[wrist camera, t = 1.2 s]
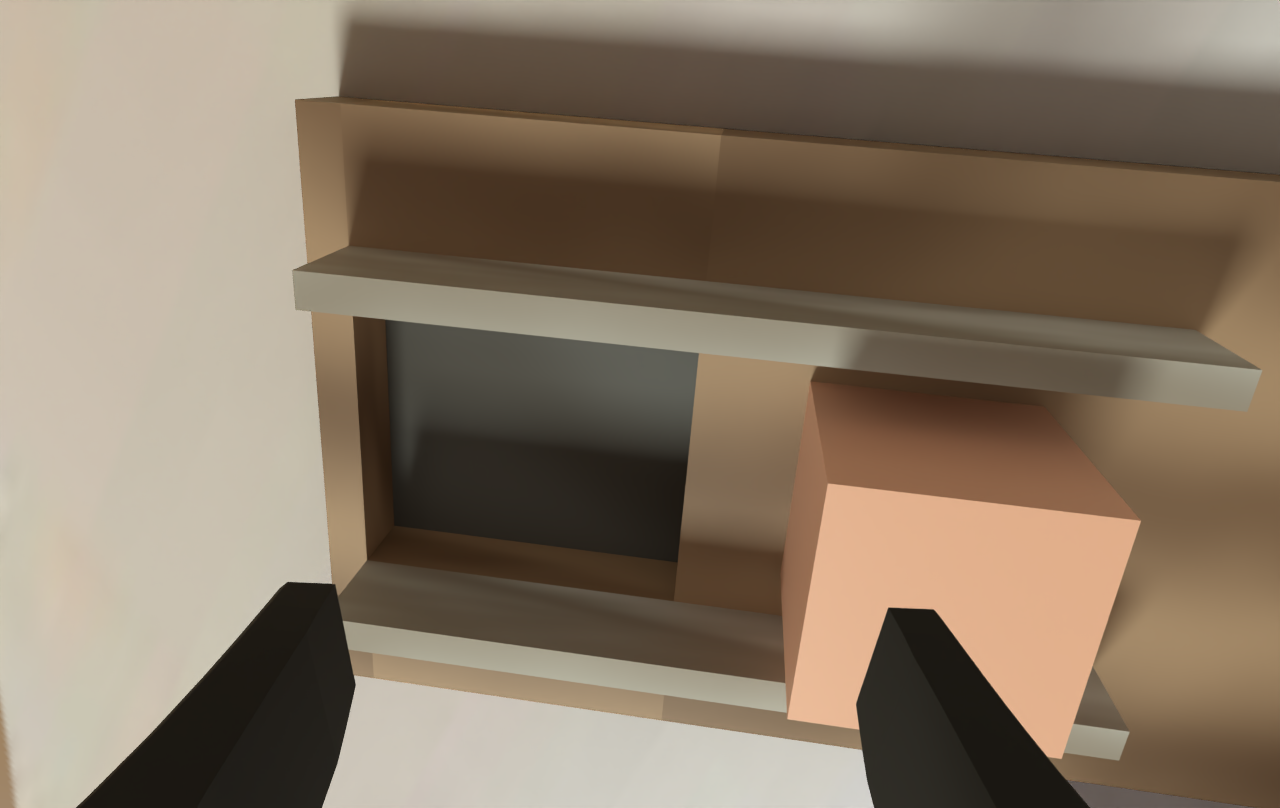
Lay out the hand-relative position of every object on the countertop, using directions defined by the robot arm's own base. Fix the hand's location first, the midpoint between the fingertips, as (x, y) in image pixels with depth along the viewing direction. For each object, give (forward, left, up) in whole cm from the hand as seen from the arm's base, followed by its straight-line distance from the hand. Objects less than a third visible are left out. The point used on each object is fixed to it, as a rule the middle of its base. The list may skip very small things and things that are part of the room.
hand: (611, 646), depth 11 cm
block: (-2, -6, -9) cm, 10 cm away
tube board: (-2, -7, -11) cm, 13 cm away
